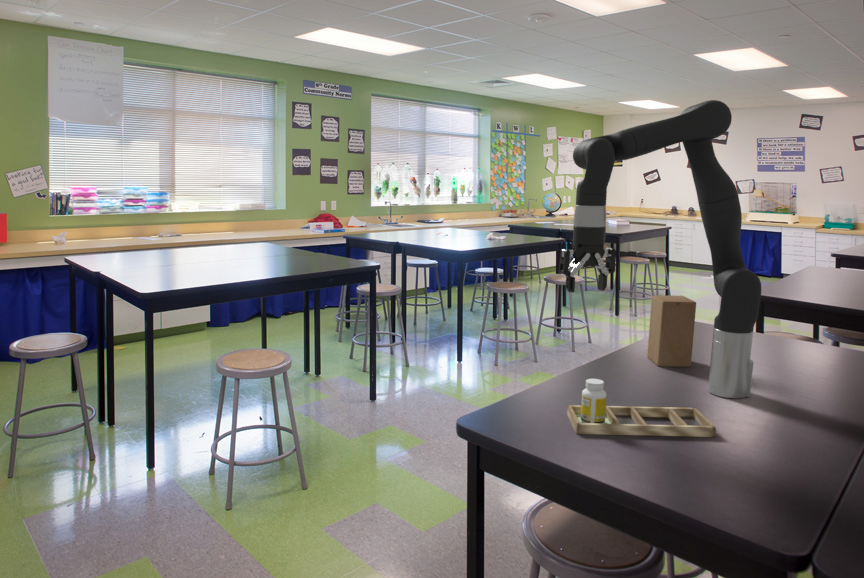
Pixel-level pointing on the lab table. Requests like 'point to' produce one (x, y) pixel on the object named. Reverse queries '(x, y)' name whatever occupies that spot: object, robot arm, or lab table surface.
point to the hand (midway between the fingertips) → (586, 291)
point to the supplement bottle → (593, 402)
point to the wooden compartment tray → (631, 423)
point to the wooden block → (671, 331)
